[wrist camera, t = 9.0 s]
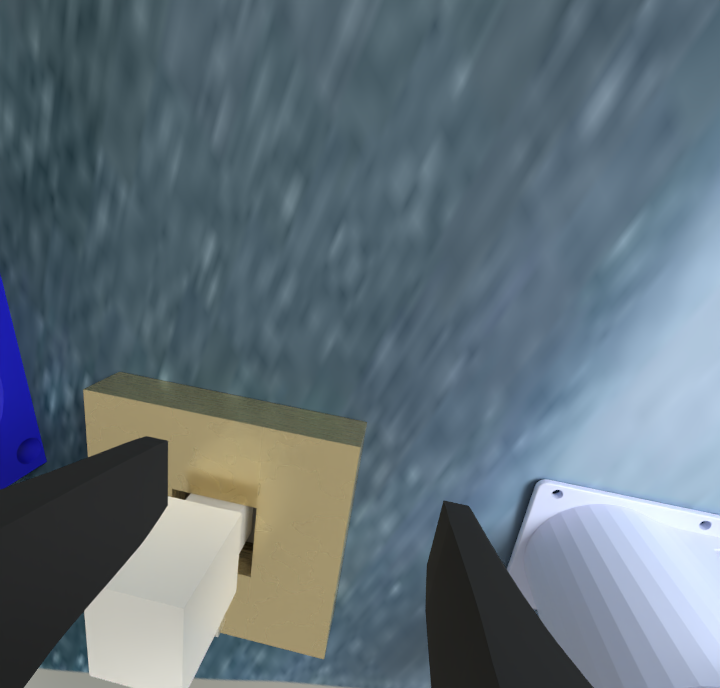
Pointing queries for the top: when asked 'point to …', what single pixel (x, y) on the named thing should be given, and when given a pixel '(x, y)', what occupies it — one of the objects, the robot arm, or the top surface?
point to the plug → (169, 596)
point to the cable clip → (15, 408)
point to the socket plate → (252, 492)
